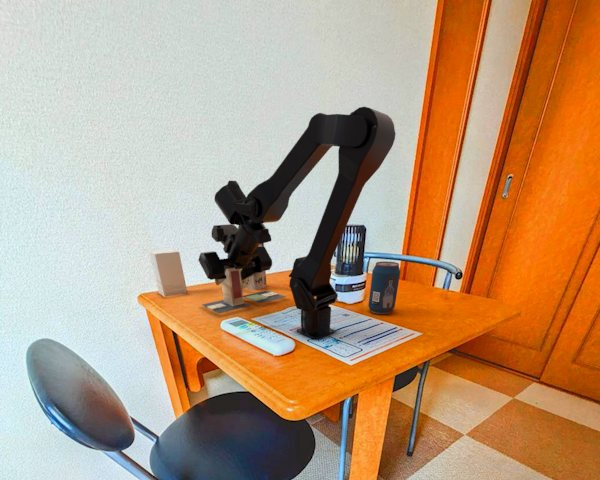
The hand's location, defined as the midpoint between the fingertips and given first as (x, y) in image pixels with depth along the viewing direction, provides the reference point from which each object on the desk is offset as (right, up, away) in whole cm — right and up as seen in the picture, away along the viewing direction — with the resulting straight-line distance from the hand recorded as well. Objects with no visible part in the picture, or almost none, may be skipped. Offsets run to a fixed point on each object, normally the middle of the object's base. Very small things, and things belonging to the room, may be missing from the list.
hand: (228, 281), depth 86 cm
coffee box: (+3, +4, +19) cm, 20 cm away
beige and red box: (+1, -5, +2) cm, 6 cm away
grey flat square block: (+9, -2, +9) cm, 13 cm away
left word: (-1, -7, +1) cm, 7 cm away
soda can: (+42, -4, -5) cm, 42 cm away
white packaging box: (-21, +1, +14) cm, 26 cm away
